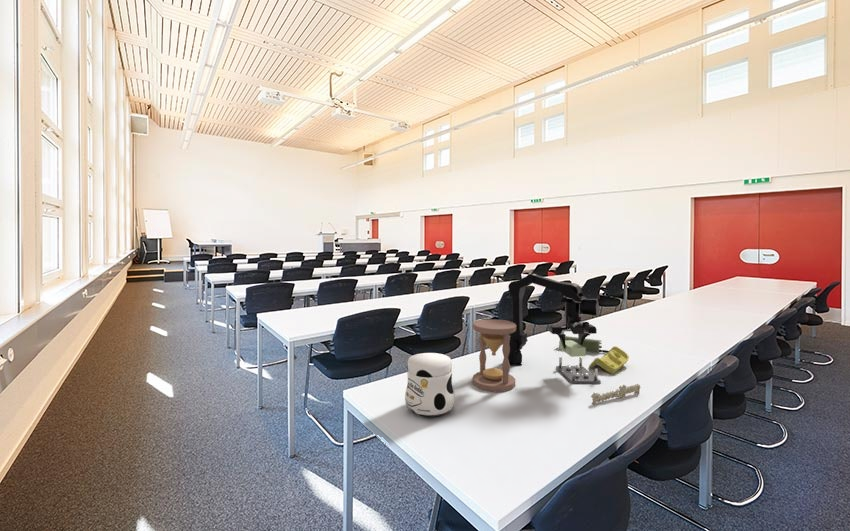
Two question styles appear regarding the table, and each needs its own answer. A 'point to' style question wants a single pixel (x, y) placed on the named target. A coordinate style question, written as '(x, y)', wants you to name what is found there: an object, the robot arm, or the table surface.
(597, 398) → the decorative sign
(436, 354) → the milk container
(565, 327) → the robot arm
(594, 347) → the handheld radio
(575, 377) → the chassis
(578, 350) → the board
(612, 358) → the plastic component
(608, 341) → the table surface
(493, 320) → the hourglass
